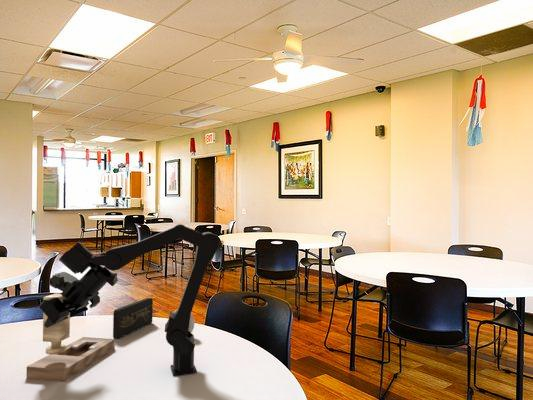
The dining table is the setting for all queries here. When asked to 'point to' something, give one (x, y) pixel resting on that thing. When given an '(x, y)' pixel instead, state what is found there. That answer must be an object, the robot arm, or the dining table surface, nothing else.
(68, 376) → the keyhole board
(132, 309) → the nameplate
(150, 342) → the dining table surface
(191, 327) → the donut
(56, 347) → the peg
